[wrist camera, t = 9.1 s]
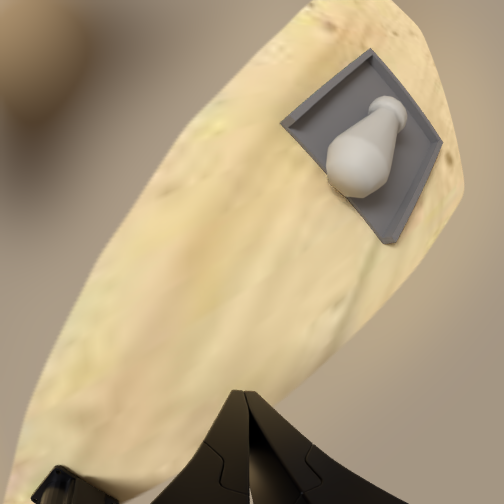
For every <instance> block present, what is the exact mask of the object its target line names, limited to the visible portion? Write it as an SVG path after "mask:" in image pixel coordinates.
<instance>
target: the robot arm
mask: <svg viewBox="0 0 504 504" xmlns="http://www.w3.org/2000/svg"><path fill="white" fill-rule="evenodd" d="M57 470H59V471H61V472H58V471H57ZM249 486H250V490H251V495H252V499H253V503H254V504H408V503H406V502H404V501H402V500H400V499H398V498H397V497H395V496H393V495H391V494H389V493H388V492H386V491H384V490H382V489H380V488H379V487H377V486H375V485H373V484H372V483H370V482H368V481H366V480H365V479H363V478H361V477H360V476H358V475H356V474H355V473H353V472H351V471H350V470H348V469H347V468H345V467H344V466H342V465H341V464H339V463H338V462H336V461H334V460H333V459H332V458H330V457H329V456H328V455H327V454H325V453H324V452H323V451H322V450H320V449H319V448H318V447H316V445H312V443H311V442H310V441H309V440H308V439H307V438H306V437H304V436H303V435H302V434H301V433H300V432H299V431H298V430H297V429H295V428H294V427H293V426H292V425H291V424H290V423H289V422H288V421H287V420H285V419H284V418H283V417H282V416H281V415H280V414H279V413H278V412H277V411H276V410H275V409H274V408H272V407H271V406H270V405H269V404H268V403H267V402H266V401H265V400H264V399H263V398H262V397H261V396H260V395H259V394H258V393H257V392H255V391H244V392H243V391H242V390H232V391H231V392H230V394H229V396H228V398H227V400H226V401H225V403H224V405H223V407H222V409H221V410H220V412H219V414H218V416H217V418H216V419H215V421H214V423H213V425H212V426H211V428H210V430H209V432H208V433H207V435H206V437H205V439H204V440H203V442H202V443H201V445H200V447H199V449H198V450H197V452H196V453H195V455H194V456H193V458H192V459H191V460H190V461H189V463H188V464H187V465H186V466H185V468H184V469H183V470H182V471H181V472H180V473H179V474H178V475H177V476H176V477H175V478H174V480H173V481H172V482H171V483H170V484H169V485H168V486H167V487H166V488H165V489H164V490H163V491H162V492H161V493H160V494H159V495H158V496H157V497H156V498H155V499H154V501H152V502H151V504H250V498H249V496H250V493H249ZM36 499H37V500H36ZM31 500H32V501H33V502H34V503H35V504H113V503H116V504H120V503H119V501H118V500H117V499H115V498H113V497H111V496H109V495H107V494H106V493H104V492H102V491H100V490H98V489H97V488H95V487H93V486H91V485H90V484H88V483H86V482H85V481H83V480H81V479H80V478H78V477H76V476H75V475H73V474H72V473H70V472H69V471H67V470H66V469H64V468H63V467H61V466H58V465H57V466H54V468H53V469H52V470H51V471H50V473H49V474H48V475H47V476H46V478H45V479H44V480H43V481H42V483H41V484H40V485H39V486H38V488H37V489H36V490H35V492H34V493H33V494H32V496H31Z"/></svg>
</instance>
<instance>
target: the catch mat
mask: <svg viewBox="0 0 504 504" xmlns="http://www.w3.org/2000/svg"><path fill="white" fill-rule="evenodd" d="M381 96H390V97H393V98H395V99H397V100H398V101H400V102H401V103H402V105H403V106H404V107H405V109H406V112H407V121H406V125H405V127H404V128H403V129H402V130H401V131H400V132H399V133H398V134H397V137H396V143H395V149H394V154H393V160H392V165H391V170H390V173H389V176H388V179H387V182H386V183H385V184H384V185H383V186H381V187H380V188H379V189H377V190H376V191H374V192H373V193H371V194H369V195H368V196H366V197H365V198H356V197H347V199H348V200H349V201H350V202H351V204H352V205H353V206H354V207H355V208H356V210H357V211H358V212H359V213H360V215H361V216H362V217H363V218H364V220H365V221H366V222H367V224H368V225H369V226H370V227H371V229H372V230H373V231H374V233H375V234H376V235H377V236H378V238H379V239H380V240H381V242H382V243H383V244H388V243H396V241H397V240H398V238H399V236H400V234H401V232H402V230H403V228H404V226H405V224H406V222H407V220H408V218H409V216H410V214H411V212H412V210H413V208H414V206H415V204H416V202H417V200H418V198H419V196H420V194H421V192H422V190H423V187H424V185H425V183H426V181H427V179H428V177H429V174H430V172H431V170H432V167H433V165H434V163H435V161H436V158H437V156H438V153H439V151H440V149H441V146H442V144H443V142H442V140H441V138H440V137H439V135H438V134H437V132H436V131H435V129H434V128H433V126H432V125H431V123H430V122H429V120H428V119H427V117H426V116H425V115H424V113H423V112H422V110H421V109H420V108H419V106H418V105H417V103H416V102H415V101H414V99H413V98H412V97H411V95H410V94H409V93H408V92H407V90H406V89H405V88H404V86H403V85H402V84H401V83H400V81H399V80H398V79H397V78H396V77H395V75H394V74H393V73H392V72H391V71H390V69H389V68H388V67H387V66H386V65H385V64H384V62H383V61H382V60H381V59H380V58H379V57H378V56H377V55H376V53H375V52H374V51H373V50H372V49H371V48H370V49H369V50H367V51H366V52H365V53H363V54H362V55H361V56H359V57H358V58H357V59H356V60H354V61H353V62H352V63H350V64H349V65H348V66H347V67H345V68H344V69H343V70H342V71H340V72H339V73H338V74H337V75H335V76H334V77H333V78H332V79H330V80H329V81H328V82H327V83H326V84H324V85H323V86H322V87H321V88H320V89H318V90H317V91H316V92H315V93H314V94H312V95H311V96H310V97H309V98H308V99H306V100H305V101H304V102H303V103H302V104H301V105H299V106H298V107H297V108H296V109H295V110H294V111H293V112H291V113H290V114H289V115H288V116H287V117H286V118H285V119H284V120H282V121H281V122H280V124H281V125H282V126H283V127H284V128H285V129H286V130H287V131H288V132H289V133H290V134H291V136H292V137H293V138H294V139H295V140H296V141H297V142H298V143H299V144H300V145H301V146H302V147H303V148H304V149H305V150H306V152H307V153H308V154H309V155H310V156H311V157H312V158H313V159H314V160H315V162H316V163H317V164H318V165H319V166H320V167H321V168H322V169H323V171H324V172H325V173H326V174H327V169H326V161H327V152H328V147H329V145H330V144H331V143H332V142H333V140H334V139H335V138H336V137H337V136H339V135H340V134H342V133H343V132H345V131H346V130H347V129H349V128H350V127H352V126H353V125H355V124H356V123H358V122H359V121H361V120H362V119H364V118H365V117H367V116H368V111H369V106H370V104H371V103H372V102H373V101H374V100H375V99H376V98H378V97H381Z"/></svg>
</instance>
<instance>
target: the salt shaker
mask: <svg viewBox="0 0 504 504" xmlns="http://www.w3.org/2000/svg"><path fill="white" fill-rule="evenodd" d="M406 121H407V112H406V109H405V107H404V106H403V105H402V103H401V102H400V101H398V100H397V99H395V98H393V97H390V96H381V97H378V98H376V99H375V100H374V101H373V102H372V103H371V104H370V106H369V111H368V116H367V117H365V118H364V119H362V120H361V121H359V122H358V123H356V124H355V125H353V126H352V127H350V128H349V129H347V130H346V131H345V132H343V133H342V134H340V135H339V136H337V137H336V138H335V139H334V140H333V142H332V143H331V144H330V145H329V147H328V152H327V161H326V169H327V175H328V181H329V183H330V184H331V185H332V186H333V187H334V188H336V189H337V190H338V191H339V192H340V193H341V194H343V195H344V196H346V197H356V198H365V197H366V196H368V195H369V194H371V193H373V192H374V191H376V190H377V189H379V188H380V187H381V186H383V185H384V184H385V183H386V182H387V179H388V176H389V173H390V170H391V165H392V160H393V154H394V149H395V143H396V137H397V134H398V133H399V132H400V131H401V130H402V129H403V128H404V127H405V125H406Z"/></svg>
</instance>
